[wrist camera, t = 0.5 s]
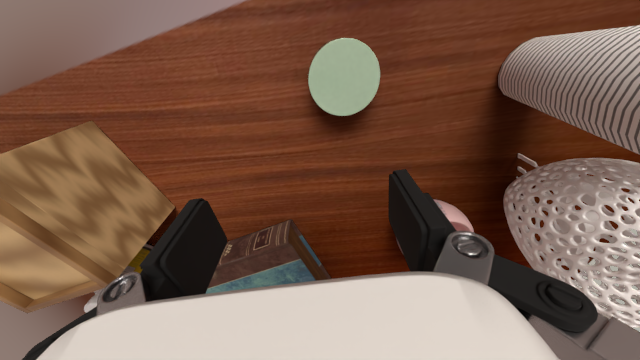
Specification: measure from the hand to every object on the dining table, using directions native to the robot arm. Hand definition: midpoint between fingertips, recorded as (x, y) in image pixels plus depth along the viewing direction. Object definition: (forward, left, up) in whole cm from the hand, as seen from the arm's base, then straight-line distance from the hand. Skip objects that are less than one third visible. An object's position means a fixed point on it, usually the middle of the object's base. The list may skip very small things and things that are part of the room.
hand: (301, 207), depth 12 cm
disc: (-2, +5, -18) cm, 18 cm away
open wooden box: (-2, -30, -18) cm, 34 cm away
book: (+23, -20, -18) cm, 35 cm away
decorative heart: (+21, +24, -18) cm, 36 cm away
